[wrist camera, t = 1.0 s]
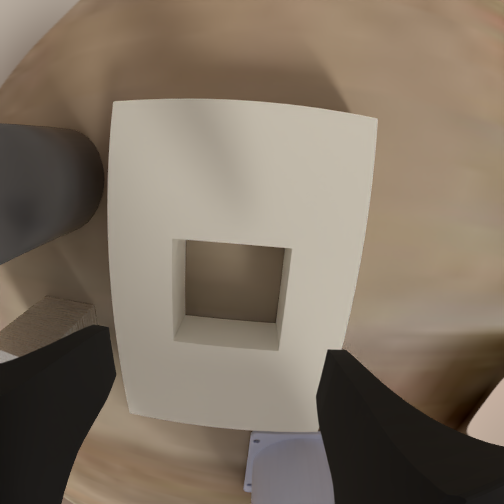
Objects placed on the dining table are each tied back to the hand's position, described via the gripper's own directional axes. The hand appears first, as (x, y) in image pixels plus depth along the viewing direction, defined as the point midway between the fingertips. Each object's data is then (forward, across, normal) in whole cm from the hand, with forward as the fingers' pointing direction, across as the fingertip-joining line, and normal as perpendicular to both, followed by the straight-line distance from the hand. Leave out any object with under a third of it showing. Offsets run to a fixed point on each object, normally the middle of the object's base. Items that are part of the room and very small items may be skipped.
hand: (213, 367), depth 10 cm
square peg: (+8, +11, +5) cm, 15 cm away
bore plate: (+8, 0, 0) cm, 8 cm away
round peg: (+8, +11, -5) cm, 15 cm away
